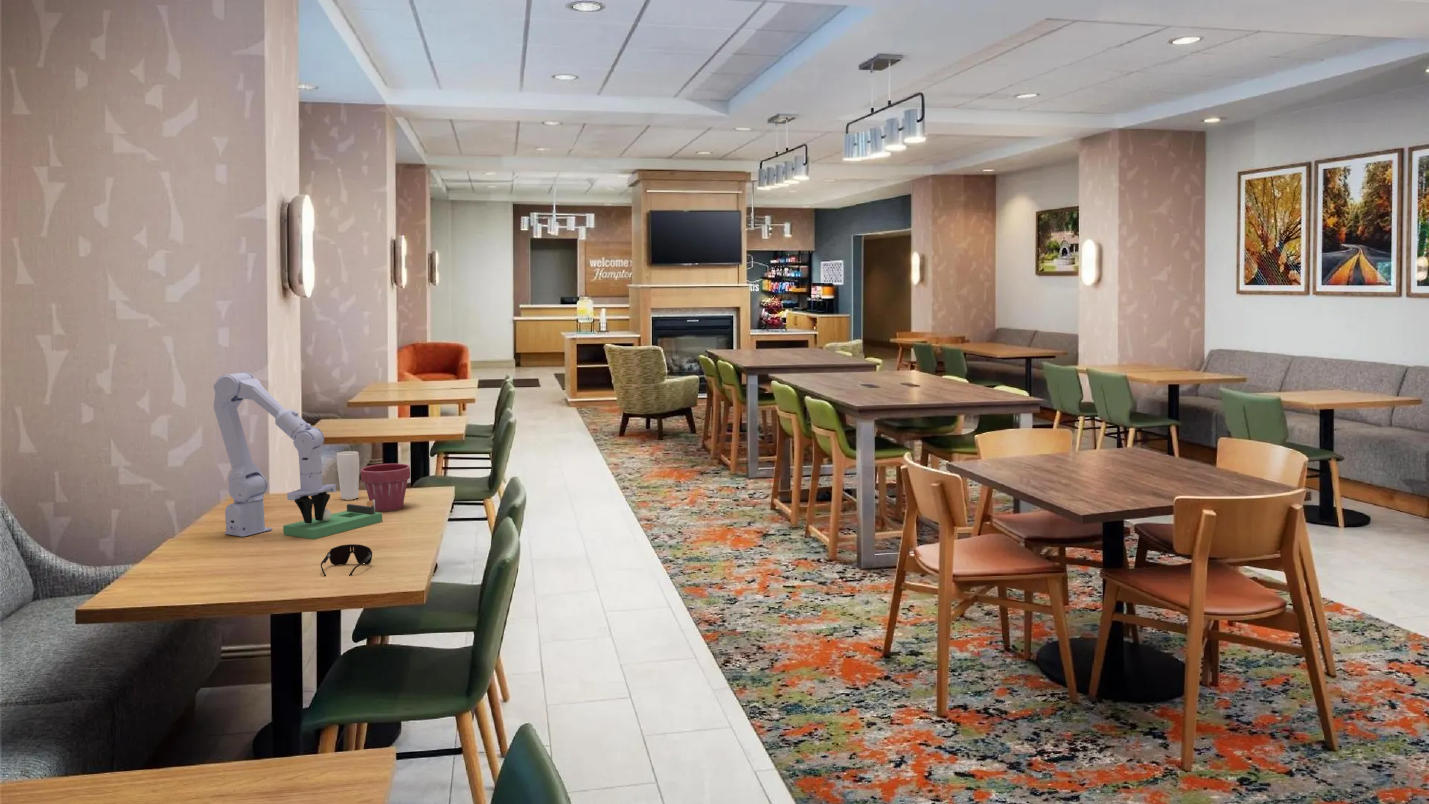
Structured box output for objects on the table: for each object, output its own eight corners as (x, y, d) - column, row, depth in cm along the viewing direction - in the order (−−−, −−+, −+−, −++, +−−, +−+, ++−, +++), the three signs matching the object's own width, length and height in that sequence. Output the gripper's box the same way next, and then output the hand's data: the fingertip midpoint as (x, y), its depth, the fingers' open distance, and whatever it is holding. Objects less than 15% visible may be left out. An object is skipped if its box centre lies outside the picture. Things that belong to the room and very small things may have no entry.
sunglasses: (375, 563, 252) (373, 543, 251) (360, 582, 240) (358, 562, 239) (331, 563, 252) (329, 544, 251) (314, 583, 240) (312, 563, 239)
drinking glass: (364, 497, 334) (362, 451, 333) (355, 501, 328) (353, 454, 326) (344, 496, 335) (342, 451, 333) (334, 501, 328) (332, 454, 327)
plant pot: (361, 514, 308) (359, 472, 306) (363, 505, 321) (362, 464, 320) (411, 511, 311) (409, 469, 310) (411, 502, 325) (410, 462, 323)
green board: (313, 539, 277) (312, 515, 276) (283, 534, 283) (282, 511, 282) (382, 521, 298) (381, 499, 297) (353, 517, 304) (352, 495, 303)
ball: (322, 522, 284) (324, 509, 285) (313, 520, 286) (315, 507, 286) (333, 522, 288) (335, 509, 288) (324, 520, 289) (326, 507, 290)
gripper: (298, 478, 274) (301, 528, 276) (342, 469, 287) (345, 517, 288) (280, 476, 278) (283, 525, 279) (325, 467, 290) (327, 515, 292)
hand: (313, 521), depth 284 cm, fingers open, 3 cm apart
